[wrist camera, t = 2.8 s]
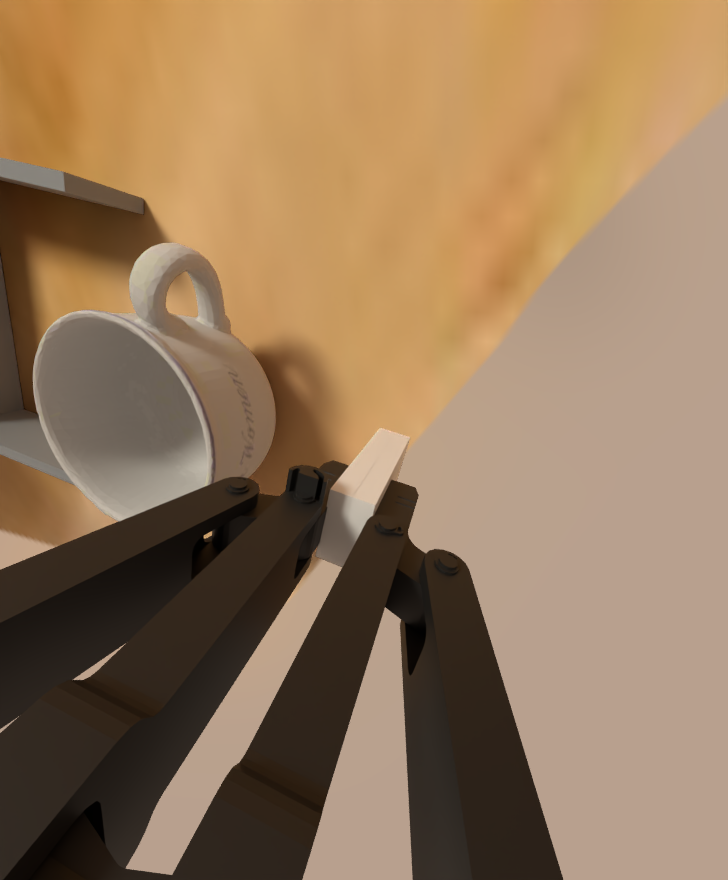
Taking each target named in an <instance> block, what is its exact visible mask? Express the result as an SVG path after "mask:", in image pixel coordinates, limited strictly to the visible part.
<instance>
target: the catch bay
mask: <svg viewBox="0 0 728 880" xmlns="http://www.w3.org/2000/svg"><path fill="white" fill-rule="evenodd" d="M0 180H1V181H5V182H9V183H13V184H18V185H22V186H26V187H30V188H34V189H39V190H43V191H47V192H51V193H55V194H59V195H64V196H68V197H72V198H76V199H80V200H84V201H89V202H93V203H97V204H101V205H105V206H110V207H114V208H118V209H122V210H126V211H130V212H135V213H139V214H143V215H144V199H142V198H139V197H137V196H134V195H131V194H128V193H125V192H122V191H119V190H116V189H113V188H110V187H107V186H104V185H101V184H98V183H95V182H92V181H89V180H86V179H83V178H80V177H77V176H74V175H71V174H68V173H65V172H62V171H58V170H53V169H49V168H44V167H40V166H35V165H31V164H27V163H22V162H18V161H13V160H9V159H4V158H0ZM0 455H3V456H5V457H8V458H10V459H13V460H15V461H17V462H20V463H22V464H25V465H27V466H30V467H32V468H34V469H37V470H39V471H42V472H44V473H46V474H49V475H51V476H54V477H56V478H59V479H61V480H63V481H66V482H68V483H71V484H73V485H75V484H74V483H73V482H72V481H71V479H70V478H69V477H68V475H67V474H66V473H65V471H64V470H63V468H62V467H61V465H60V463H59V462H58V461H57V459H56V457H55V455H54V453H53V452H52V450H51V447H50V445H49V443H48V441H47V439H46V436H45V434H44V432H43V429H42V426H41V423H40V419H39V415H38V414H35V413H33V412H30V411H27V410H25V409H24V407H23V400H22V394H21V387H20V381H19V374H18V368H17V361H16V354H15V348H14V341H13V335H12V328H11V322H10V315H9V309H8V302H7V296H6V289H5V283H4V276H3V269H2V263H1V256H0Z"/></svg>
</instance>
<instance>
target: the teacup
mask: <svg viewBox="0 0 728 880" xmlns="http://www.w3.org/2000/svg"><path fill="white" fill-rule="evenodd" d="M185 271H187V272H188V274H189V276H190V278H191V280H192V282H193V285H194V288H195V292H196V298H197V304H198V317H197V318H195V317H190V316H183V315H174V314H171V313H169V312H168V311H167V308H166V294H167V291H168V288H169V286H170V284H171V282H172V281H173V280H174V278H175V277H177V276H178V275H180V274H181V273H183V272H185ZM129 290H130V298H131V301H132V304H133V307H134V309H135V311H136V313H110V312H105V311H97V310H82V311H75V312H71V313H69V314H67V315H65V316H62V317H60V318H59V319H58V320H56V321H55V322H54V323H53V324H52V325H51V326H50V327H49V328H48V329H47V331H46V333H45V334H44V336H43V337H42V339H41V341H40V343H39V346H38V350H37V353H36V355H35V360H34V366H33V391H34V398H35V404H36V409H37V412H38V414H39V419H40V423H41V426H42V429H43V432H44V434H45V436H46V439H47V441H48V443H49V445H50V447H51V450H52V452H53V453H54V455H55V457H56V459H57V461H58V462H59V463H60V465H61V467H62V468H63V470H64V471H65V473H66V474H67V475H68V477H69V478H70V479H71V481H72V482H73V483H74V484H75V485H76V486H77V488H78V489H79V490H80V491H81V492H82V493H83V494H84V495H85V496H86V497H87V498H88V499H89V500H90V501H92V502H93V503H94V504H95V506H96V507H97V508H98V509H99V510H100V511H101V512H103V513H104V514H105V515H108V516H110V517H112V518H113V519H115V520H117V521H121V520H124V519H126V518H129V517H131V516H134V515H136V514H139V513H141V512H144V511H146V510H148V509H151V508H153V507H156V506H158V505H161V504H163V503H166V502H168V501H171V500H173V499H175V498H178V497H180V496H183V495H185V494H188V493H190V492H193V491H195V490H198V489H200V488H202V487H205V486H207V485H210V484H212V483H215V482H217V481H220V480H222V479H225V478H229V477H245V478H248V477H250V476H251V475H252V474H253V473H254V472H255V471H256V469H257V468H258V467H259V466H260V464H261V463H262V462H263V460H264V459H265V457H266V455H267V453H268V451H269V449H270V447H271V444H272V440H273V437H274V432H275V425H276V411H275V402H274V397H273V393H272V390H271V387H270V384H269V381H268V379H267V376H266V374H265V372H264V370H263V369H262V367H261V365H260V363H259V362H258V361H257V359H256V358H255V356H254V355H253V353H252V352H251V351H250V350H249V349H248V348H247V347H246V346H245V345H244V344H243V343H242V342H241V341H240V340H239V339H238V338H236V337H235V336H234V335H232V334H231V324H230V320H229V319H228V318H227V316H226V315H225V309H224V302H223V295H222V289H221V285H220V282H219V279H218V276H217V273H216V271H215V270H214V268H213V267H212V265H211V264H210V262H209V261H208V260H207V259H206V258H205V257H204V256H202V255H201V254H200V253H199V252H197V251H195V250H193V249H191V248H189V247H186V246H184V245H181V244H178V243H161V244H158V245H155V246H152V247H150V248H149V249H147V250H146V251H145V252H143V253H142V254H141V256H140V257H139V258H138V259H137V260H136V262H135V264H134V267H133V269H132V272H131V274H130V280H129Z"/></svg>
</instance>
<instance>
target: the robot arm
mask: <svg viewBox="0 0 728 880" xmlns="http://www.w3.org/2000/svg"><path fill="white" fill-rule="evenodd" d="M409 439H410V437H408V436H404V435H401V434H398V433H395V432H392V431H389V430H386V429H383V428H379V430H378V431H377V432H376V433H375V434H374V436H373V437H372V438H371V439H370V441H369V442H368V443H367V444H366V446H365V447H364V448H363V449H362V451H361V452H360V453H359V454H358V455H357V457H356V458H355V459H354V460H353V462H352V463H351V464H350V465H349V466H348V465H345V464H342V463H339V462H337V461H334V460H333V461H330V462H327V463H324V464H323V465H322V466H321V467H320V468H319V469H318V468H316V467H312V466H304V465H300V466H294V467H292V468H290V469H289V473H288V479H287V485H286V491H285V492H284V493H283V494H282V495H281V496H271V495H264V494H259V486H258V484H257V483H256V482H255V481H253V480H251V479H248V478H245V477H229V478H225V479H222V480H220V481H217V482H215V483H212V484H210V485H207V486H205V487H202V488H200V489H198V490H195V491H193V492H190V493H188V494H185V495H183V496H180V497H178V498H175V499H173V500H171V501H168V502H166V503H163V504H161V505H158V506H156V507H153V508H151V509H148V510H146V511H144V512H141V513H139V514H136V515H134V516H131V517H129V518H126V519H124V520H121V521H119V522H117V523H114V524H112V525H109V526H107V527H104V528H102V529H99V530H97V531H94V532H92V533H90V534H87V535H85V536H82V537H80V538H77V539H75V540H72V541H70V542H67V543H65V544H63V545H60V546H58V547H55V548H53V549H50V550H48V551H46V552H43V553H41V554H38V555H36V556H33V557H31V558H28V559H26V560H23V561H21V562H19V563H16V564H13V565H11V566H9V567H6V568H4V569H1V570H0V729H1V728H2V727H4V726H5V725H7V724H8V723H10V722H11V721H13V720H14V719H16V718H17V717H18V716H19V717H18V718H17V719H16V720H15V721H14V722H12V723H11V724H10V725H9V726H8V727H7V728H6V729H5V730H4V731H2V732H1V733H0V880H302V879H303V875H304V872H305V869H306V865H307V862H308V859H309V856H310V852H311V849H312V846H313V842H314V839H315V836H316V832H317V829H318V826H319V822H320V819H321V815H322V811H323V807H324V804H325V800H326V797H327V794H328V790H329V787H330V784H331V781H332V777H333V774H334V771H335V768H336V764H337V761H338V758H339V755H340V751H341V748H342V745H343V741H344V738H345V734H346V731H347V729H348V725H349V722H350V719H351V715H352V712H353V709H354V706H355V702H356V699H357V696H358V693H359V689H360V686H361V683H362V680H363V676H364V673H365V670H366V666H367V663H368V660H369V657H370V654H371V650H372V647H373V644H374V641H375V637H376V634H377V631H378V628H379V624H380V621H381V618H382V615H383V611H384V608H385V607H386V608H387V609H388V610H390V611H391V612H392V613H394V614H395V615H396V616H398V617H399V618H400V619H401V623H400V632H401V652H402V671H403V693H404V712H405V732H406V753H407V773H408V793H409V813H410V833H411V853H412V873H413V880H563V877H562V874H561V871H560V867H559V864H558V861H557V858H556V854H555V851H554V848H553V844H552V841H551V838H550V835H549V831H548V828H547V824H546V821H545V818H544V815H543V811H542V808H541V805H540V802H539V798H538V795H537V792H536V788H535V785H534V782H533V779H532V775H531V772H530V769H529V766H528V762H527V759H526V756H525V752H524V749H523V746H522V742H521V739H520V736H519V732H518V729H517V726H516V723H515V719H514V716H513V713H512V710H511V706H510V703H509V700H508V696H507V693H506V690H505V687H504V683H503V680H502V677H501V673H500V670H499V667H498V663H497V660H496V657H495V654H494V650H493V647H492V644H491V640H490V637H489V634H488V630H487V627H486V624H485V621H484V617H483V614H482V611H481V607H480V604H479V601H478V598H477V595H476V591H475V588H474V584H473V581H472V578H471V575H470V571H469V569H468V567H467V565H466V563H464V561H462V559H460V558H459V557H458V556H456V555H455V554H453V553H451V552H448V551H445V550H439V549H434V550H430V551H429V552H427V553H424V552H422V551H421V550H420V549H418V548H417V547H416V546H415V545H414V544H413V543H412V542H411V540H410V539H409V536H408V529H409V525H410V522H411V519H412V516H413V512H414V509H415V506H416V502H417V499H418V493H417V491H416V488H415V487H412V486H409V485H406V484H403V483H400V482H397V479H398V476H399V472H400V469H401V466H402V463H403V459H404V456H405V453H406V449H407V446H408V443H409ZM211 531H212V536H210V537H208V538H206V539H204V535H205V534H207V533H209V532H211ZM317 546H318V547H317ZM316 547H317V551H316V556H315V557H318V558H320V559H323V560H326V561H328V562H331V563H333V564H336V565H338V566H341V567H342V569H341V571H340V573H339V575H338V577H337V579H336V581H335V583H334V585H333V587H332V589H331V591H330V592H329V594H328V596H327V598H326V600H325V602H324V604H323V606H322V608H321V610H320V612H319V613H318V616H317V617H316V619H315V621H314V623H313V625H312V627H311V629H310V631H309V633H308V635H307V637H306V639H305V640H304V643H303V645H302V646H301V648H300V650H299V652H298V654H297V656H296V658H295V660H294V662H293V663H292V666H291V667H290V669H289V671H288V673H287V675H286V677H285V679H284V681H283V683H282V685H281V687H280V688H279V691H278V692H277V694H276V696H275V698H274V700H273V702H272V704H271V706H270V708H269V710H268V712H267V713H266V715H265V717H264V719H263V721H262V723H261V725H260V727H259V729H258V731H257V733H256V735H255V737H254V739H253V740H252V742H251V744H250V746H249V748H248V750H247V752H246V754H245V755H244V757H243V758H242V760H241V761H240V763H238V764H237V765H235V766H234V767H233V768H232V769H231V770H230V772H229V773H228V775H227V776H226V778H225V779H224V781H223V783H222V784H221V787H220V788H219V790H218V791H217V793H216V795H215V797H214V798H213V801H212V802H211V804H210V806H209V808H208V810H207V811H206V813H205V815H204V817H203V819H202V821H201V823H200V825H199V827H198V828H197V830H196V832H195V834H194V836H193V837H192V839H191V841H190V843H189V845H188V847H187V849H186V850H185V853H184V854H183V856H182V858H181V860H180V862H179V863H178V865H177V867H176V869H175V871H174V873H173V875H166V874H160V873H152V872H145V871H137V870H130V869H125V868H126V866H127V864H128V863H129V861H130V859H131V857H132V856H133V854H134V852H135V850H136V849H137V847H138V845H139V843H140V841H141V839H142V837H143V835H144V833H145V831H146V828H147V826H148V823H149V821H150V818H151V816H152V813H153V811H154V809H155V807H156V805H157V803H158V801H159V799H160V798H161V796H162V794H163V792H164V791H165V789H166V788H167V786H168V785H169V783H170V782H171V780H172V778H173V777H174V775H175V774H176V772H177V771H178V769H179V767H180V766H181V764H182V763H183V761H184V760H185V758H186V757H187V755H188V754H189V752H190V750H191V749H192V747H193V746H194V744H195V743H196V741H197V739H198V738H199V736H200V735H201V733H202V732H203V730H204V729H205V727H206V726H207V724H208V722H209V721H210V719H211V718H212V716H213V715H214V713H215V712H216V710H217V708H218V707H219V705H220V704H221V702H222V701H223V699H224V698H225V696H226V695H227V693H228V691H229V690H230V688H231V686H232V685H233V684H234V682H235V681H236V679H237V677H238V676H239V674H240V673H241V671H242V669H243V668H244V667H245V665H246V663H247V662H248V660H249V659H250V657H251V656H252V654H253V653H254V651H255V649H256V648H257V646H258V645H259V643H260V642H261V640H262V638H263V637H264V635H265V634H266V632H267V631H268V629H269V628H270V626H271V625H272V623H273V621H274V620H275V618H276V617H277V615H278V614H279V612H280V610H281V609H282V608H283V606H284V604H285V603H286V601H287V600H288V598H289V597H290V595H291V594H292V592H293V590H294V589H295V587H296V586H297V584H298V583H299V581H300V580H301V578H302V576H303V575H304V573H305V572H306V570H307V569H308V567H309V565H310V562H311V557H312V553H313V552H314V550H315V549H316ZM125 643H126V644H125ZM124 644H125V645H124ZM122 645H124V646H123V647H122V648H121V649H120V650H119V651H118V652H117V653H116V654H115V655H114V656H113V657H111V659H109V660H108V661H107V662H106V663H105V664H104V665H103V666H102V667H101V668H100V669H99V670H98V671H97V672H95V673H94V674H93V675H92V676H91V677H89V678H87V679H84V680H73V679H74V678H75V677H77V676H78V675H80V674H81V673H83V672H84V671H86V670H87V669H89V668H90V667H91V666H93V665H95V664H96V663H97V662H99V661H100V660H102V659H103V658H105V657H106V656H108V655H109V654H111V653H112V652H113V651H115V650H116V649H118V648H119V647H120V646H122Z"/></svg>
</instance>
